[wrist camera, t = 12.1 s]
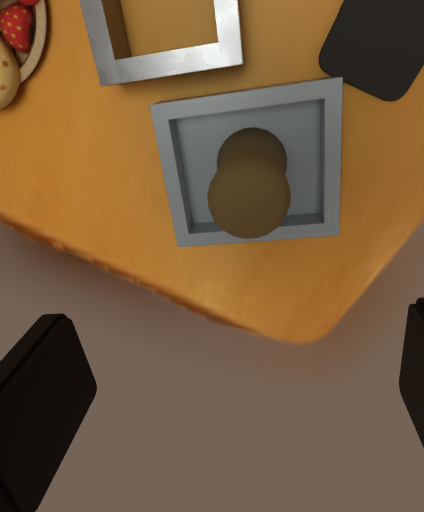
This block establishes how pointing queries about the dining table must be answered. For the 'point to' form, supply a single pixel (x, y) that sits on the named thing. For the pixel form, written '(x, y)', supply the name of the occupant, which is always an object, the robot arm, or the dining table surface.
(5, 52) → the toy food set
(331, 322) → the dining table surface
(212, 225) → the tray
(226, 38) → the collar
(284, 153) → the cork
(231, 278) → the dining table surface
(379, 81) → the phone
